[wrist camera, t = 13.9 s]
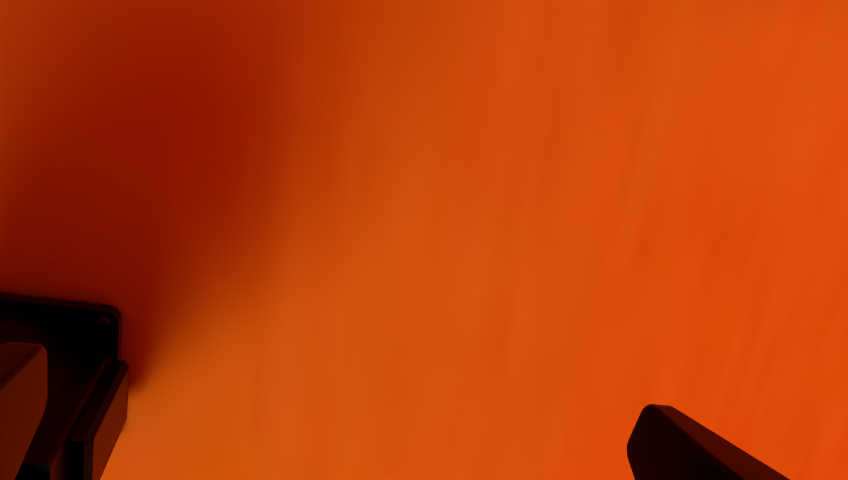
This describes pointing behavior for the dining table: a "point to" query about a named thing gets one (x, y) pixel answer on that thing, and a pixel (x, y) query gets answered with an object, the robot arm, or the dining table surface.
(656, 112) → the dining table surface
